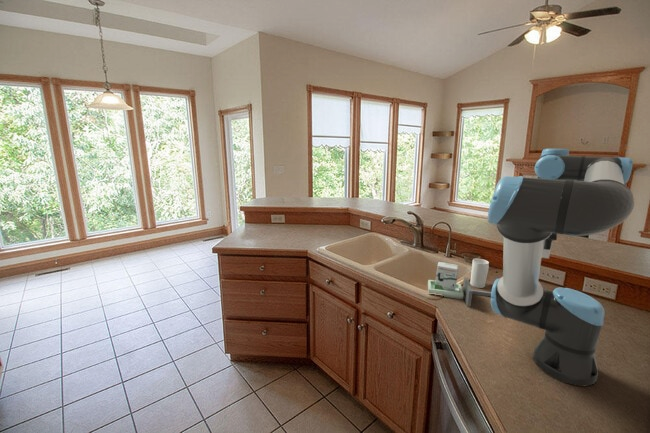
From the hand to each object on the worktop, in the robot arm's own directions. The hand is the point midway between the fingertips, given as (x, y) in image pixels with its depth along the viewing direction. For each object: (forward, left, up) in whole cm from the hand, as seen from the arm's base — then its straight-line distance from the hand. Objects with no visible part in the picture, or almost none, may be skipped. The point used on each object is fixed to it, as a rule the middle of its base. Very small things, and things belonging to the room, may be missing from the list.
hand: (536, 251), depth 111 cm
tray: (+12, +28, -27) cm, 41 cm away
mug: (+25, +11, -27) cm, 38 cm away
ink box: (+12, +28, -26) cm, 40 cm away
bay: (+8, +14, -27) cm, 31 cm away
